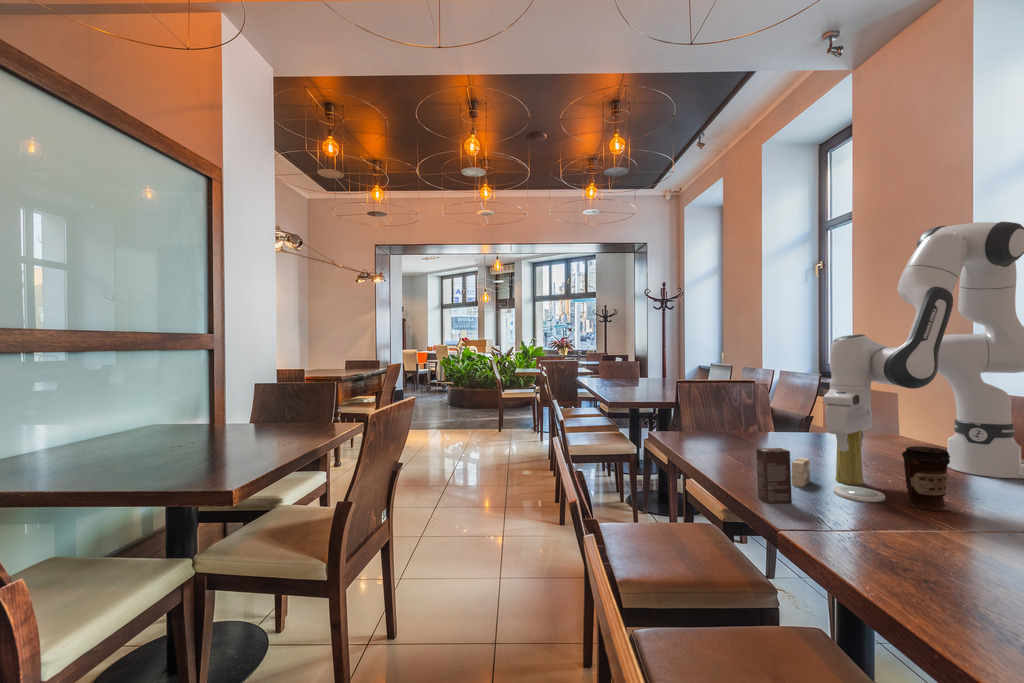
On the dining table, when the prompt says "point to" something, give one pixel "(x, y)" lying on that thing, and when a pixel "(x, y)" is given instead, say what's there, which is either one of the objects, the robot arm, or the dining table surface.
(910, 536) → the dining table surface
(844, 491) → the coaster
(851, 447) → the vase
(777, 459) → the box
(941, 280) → the robot arm
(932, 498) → the coffee cup
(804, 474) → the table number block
